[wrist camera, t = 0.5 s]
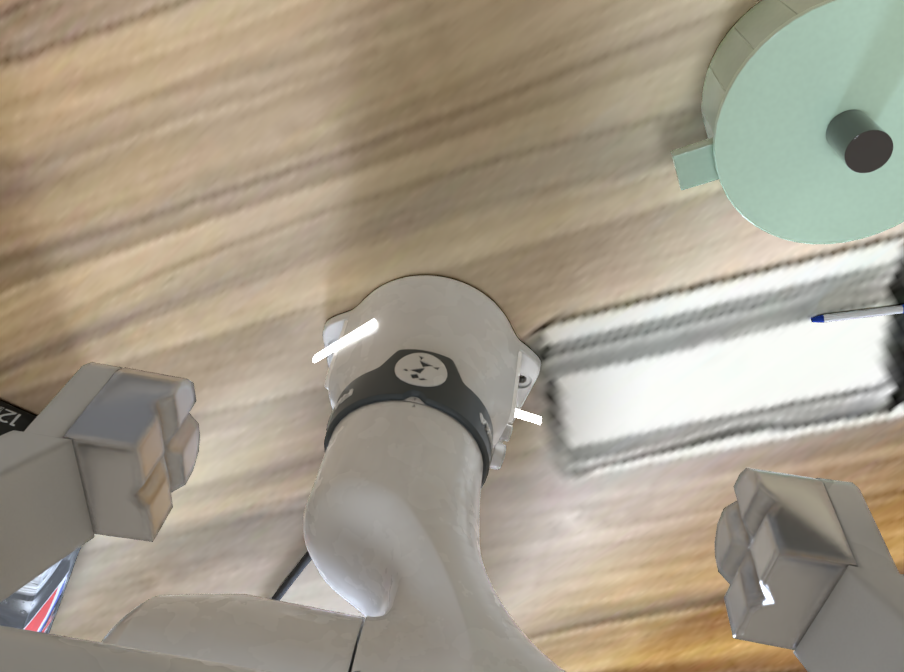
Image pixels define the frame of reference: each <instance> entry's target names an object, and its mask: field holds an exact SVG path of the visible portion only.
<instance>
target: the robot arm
mask: <svg viewBox="0 0 904 672" xmlns="http://www.w3.org/2000/svg"><path fill="white" fill-rule="evenodd" d="M323 340H324V346H325V349H323V350H322V351H320V352H318V353H317V354H315V356H314V358H313V360H312V361H313V362H314V363H316V362H318V361H319V360H321V359H323V358H324V357H327V362H328V367H329V370H328V373H327V376H326V379H325V388H326V389H328V390H329V398H330V402H331V406H332V410H333V411H332V413H331V415H330V418H329V421H328V424H327V429H326V430H327V432H326V436H325V442H324V448H325V455H324V458H323V460H322V463H321V466H320V468H319V471H318V474H317V477H316V479H315V482H314V485H313V487H312V490H311V493H310V496H309V498H308V501H307V504H306V507H305V510H304V517H303V533H304V540H305V544H306V547H307V550H308V552H307V553H306V554H305V555H304V556H303V558H302V559H301V560H300V562H299V563H298V564H297V565H296V567H295V568H294V569H293V571H292V572H291V573H290V575H289V576H288V577H287V578H286V580H285V581H284V582H283V584H282V585H281V586H280V588H279V589H278V591H277V592H276V593H275V595H274V596H273V597H272V599H267V598H262V597H257V596H252V595H247V594H185V595H160V596H154V597H152V598H150V599H148V600H147V601H145V602H144V603H142V604H140V605H139V606H138V607H136V608H135V609H133V610H132V611H131V612H130V613H128V614H127V615H126V616H125V617H124V618H122V619H121V620H120V621H119V622H118V623H117V624H116V625H115V626H114V627H113V628H112V629H111V630H110V632H109V633H108V634H107V635H106V636H105V638H104V639H103V640H102V641H101V642H95V641H89V640H83V639H78V638H72V637H66V636H60V635H54V634H48V633H42V632H36V631H31V630H25V629H19V628H13V627H7V626H1V625H0V672H566V671H564V670H563V669H562V668H560V667H559V666H558V665H557V664H555V663H554V662H553V661H552V660H550V659H549V658H548V657H547V656H546V655H545V654H544V653H543V652H542V651H541V650H540V649H539V648H537V647H536V646H535V645H534V644H533V643H532V641H531V640H530V639H529V638H528V637H527V636H526V635H525V634H524V633H523V632H522V630H521V629H520V628H519V626H518V625H517V624H516V623H515V621H514V620H513V619H512V617H511V616H510V614H509V613H508V611H507V610H506V608H505V607H504V605H503V604H502V602H501V601H500V599H499V597H498V595H497V593H496V592H495V590H494V588H493V586H492V584H491V582H490V579H489V577H488V575H487V572H486V569H485V567H484V564H483V561H482V556H481V551H480V534H479V518H480V495H481V488H482V486H483V485H484V483H485V481H486V478H487V476H488V472H489V468H492V469H495V470H497V469H498V470H499V469H500V468H501V466H502V463H503V461H504V457H505V453H506V445H504V444H503V441H507V442H508V441H509V439H510V437H511V434H512V430H513V426H512V424H513V422H514V421H515V419H516V418H520V419H523V420H526V421H529V422H532V423H536V424H539V425H540V424H541V419H542V417H541V416H538V415H535V414H531V413H528V412H525V411H522V410H520V409H521V407H522V406H523V404H524V402H525V400H526V398H527V396H528V394H529V392H530V391H531V389H532V387H533V385H534V383H535V381H536V379H537V377H538V376H539V373H540V369H541V361H540V359H539V357H538V356H537V355H536V354H535V353H534V352H533V351H532V350H531V349H530V348H528V347H527V346H526V345H525V344H523V343H522V342H521V341H520V340H519V339H518V338H517V336H516V334H515V333H514V331H513V329H512V327H511V325H510V323H509V321H508V319H507V318H506V316H505V315H504V313H503V312H502V311H501V309H500V308H499V307H498V306H497V305H496V304H495V303H494V302H493V301H492V300H491V299H490V298H489V297H487V296H486V295H485V294H483V293H482V292H480V291H479V290H477V289H475V288H474V287H471V286H469V285H467V284H465V283H463V282H460V281H457V280H454V279H450V278H446V277H440V276H431V275H420V276H410V277H404V278H400V279H397V280H394V281H391V282H389V283H386V284H384V285H383V286H381V287H379V288H377V289H376V290H374V291H373V292H372V293H371V294H369V295H368V296H367V297H366V298H365V299H364V300H363V301H362V302H361V303H360V304H359V305H358V306H357V307H356V308H354V309H353V310H352V311H349V312H346V313H343V314H340V315H337V316H335V317H333V318H331V319H329V320H328V321H327V322H326V323H325V326H324V329H323ZM519 375H523V376H525V377H524V378H519ZM195 402H196V395H195V389H194V383H193V382H191V381H190V380H189V379H186V378H180V377H175V376H169V375H164V374H158V373H153V372H147V371H142V370H136V369H131V368H126V367H124V368H121V367H117V366H111V365H106V364H100V363H95V362H91V363H88V364H85V365H83V366H82V367H81V368H80V369H79V370H78V371H77V372H76V373H75V374H74V375H73V377H72V378H71V379H70V380H69V381H68V382H67V383H66V384H65V386H64V387H63V388H62V389H61V390H60V391H59V392H58V393H57V395H56V396H55V397H54V398H53V399H52V400H51V401H50V402H49V404H48V405H47V406H46V407H45V408H44V409H43V410H42V411H41V413H40V414H39V415H38V416H37V417H36V418H35V419H34V420H33V422H32V423H31V424H30V425H29V426H28V427H27V428H26V429H25V431H24V432H22V431H15V430H13V431H10V432H8V433H6V434H3V435H1V436H0V602H2V601H3V600H5V599H6V598H8V597H9V596H10V595H12V594H13V593H15V592H16V591H18V590H19V589H20V588H22V587H23V586H25V585H26V584H28V583H29V582H30V581H32V580H33V579H35V578H36V577H38V576H39V575H41V574H42V573H43V572H45V571H46V570H48V569H49V568H51V567H52V566H53V565H55V564H56V563H58V562H59V561H61V560H62V559H63V558H65V557H66V556H68V555H69V554H71V553H72V552H74V551H75V550H76V549H78V548H79V547H81V546H82V545H84V544H85V543H86V542H88V541H89V540H91V539H92V538H94V534H100V535H108V536H115V537H122V538H129V539H137V540H144V541H151V542H153V541H154V539H155V537H156V535H157V534H158V532H159V530H160V528H161V527H162V525H163V523H164V521H165V520H166V518H167V516H168V514H169V513H170V511H171V509H172V507H173V505H172V497H171V492H173V491H175V490H177V489H178V488H180V487H182V486H184V485H185V484H186V482H187V481H188V479H189V477H190V475H191V473H192V471H193V469H194V466H195V462H196V459H197V456H198V452H199V442H200V431H199V423H198V422H197V421H196V420H195V419H194V418H193V416H192V415H191V414H190V413H189V412H190V410H191V409H192V407H193V405H194V404H195ZM734 490H735V494H736V497H737V501H735V502H734V503H732V504H730V505H729V506H727V507H725V508H724V509H723V512H722V514H721V517H720V519H719V522H718V524H717V530H716V537H715V558H716V563H717V568H718V572H719V573H720V574H721V575H722V576H723V577H724V578H725V579H726V580H727V582H728V583H729V584H730V586H729V589H728V591H727V593H726V595H725V597H724V600H725V604H726V608H727V613H728V617H729V622H730V626H731V630H732V635H733V638H735V639H740V640H745V641H750V642H755V643H761V644H766V645H771V646H776V647H781V648H786V649H792V650H795V651H794V654H795V655H796V657H797V658H798V659H799V661H800V662H801V663H802V664H803V666H804V667H805V668H806V670H807V671H808V672H904V575H903V574H899V572H898V569H897V567H896V565H895V563H894V561H893V559H892V557H891V555H890V553H889V550H888V548H887V546H886V544H885V542H884V540H883V538H882V536H881V533H880V531H879V529H878V527H877V525H876V523H875V521H874V519H873V517H872V514H871V512H870V510H869V508H868V506H867V504H866V502H865V500H864V497H863V495H862V493H861V491H860V489H859V488H858V487H857V486H856V485H855V484H853V483H851V482H844V481H836V480H829V479H822V478H811V477H804V476H798V475H791V474H784V473H778V472H771V471H765V470H758V469H752V468H745V469H744V470H743V471H742V472H741V473H740V475H739V477H738V479H737V481H736V483H735V485H734ZM311 560H313V562H314V564H315V566H316V568H317V569H318V571H319V573H320V574H321V576H322V577H323V579H324V580H325V582H326V583H327V584H328V585H329V586H330V587H331V588H332V589H333V590H334V591H335V592H336V593H338V594H339V595H340V596H341V597H342V598H344V599H345V600H346V601H347V602H349V603H350V604H351V605H352V606H354V607H355V608H356V609H357V610H359V611H360V612H361V613H362V614H363V615H364V616H365V617H366V619H365V617H360V616H355V615H350V614H345V613H339V612H334V611H329V610H324V609H319V608H314V607H308V606H303V605H298V604H293V603H288V602H283V601H280V599H281V598H282V597H283V595H284V594H285V593H286V591H287V590H288V589H289V587H290V586H291V585H292V583H293V582H294V581H295V580H296V578H297V577H298V576H299V575H300V573H301V572H302V571H303V569H304V568H305V567H306V566H307V564H308V563H309V562H310V561H311Z"/></svg>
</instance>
